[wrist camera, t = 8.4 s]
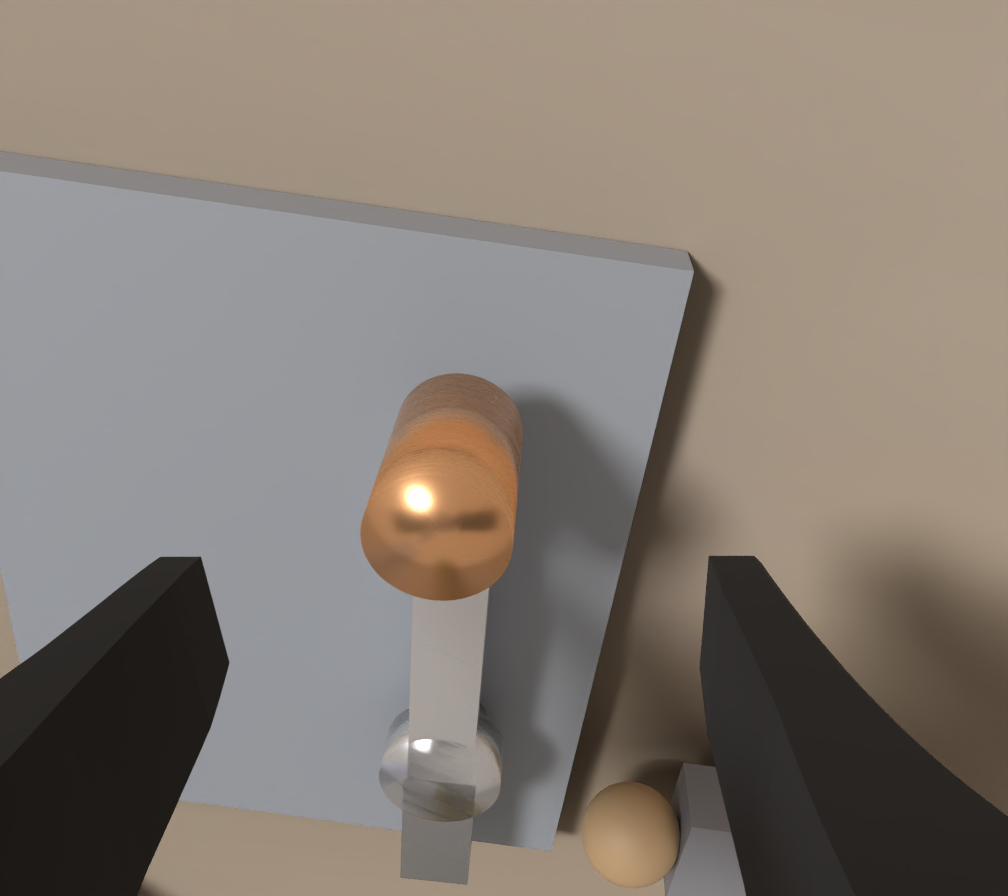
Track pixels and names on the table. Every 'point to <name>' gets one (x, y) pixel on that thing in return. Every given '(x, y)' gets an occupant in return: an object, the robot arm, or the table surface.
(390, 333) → the base
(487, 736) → the lever
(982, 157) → the table surface
